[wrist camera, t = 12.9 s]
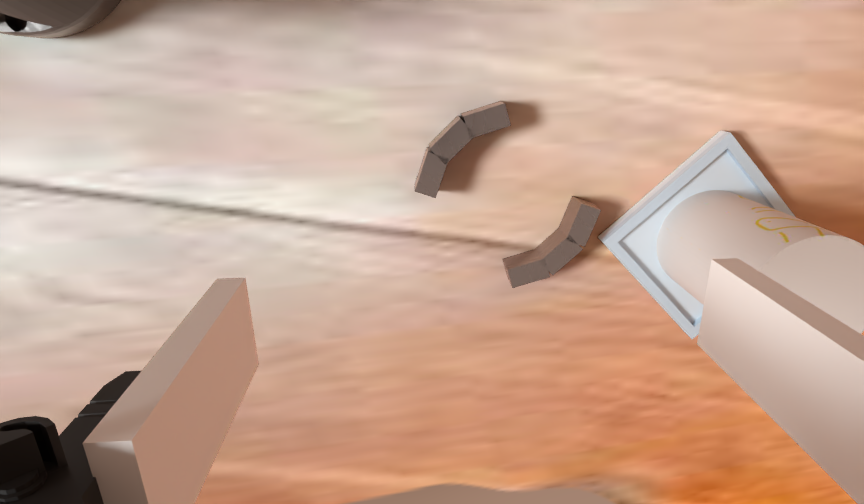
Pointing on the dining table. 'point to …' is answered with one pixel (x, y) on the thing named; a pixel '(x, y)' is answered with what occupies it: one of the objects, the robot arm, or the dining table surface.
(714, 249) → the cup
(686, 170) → the tray
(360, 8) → the dining table surface
